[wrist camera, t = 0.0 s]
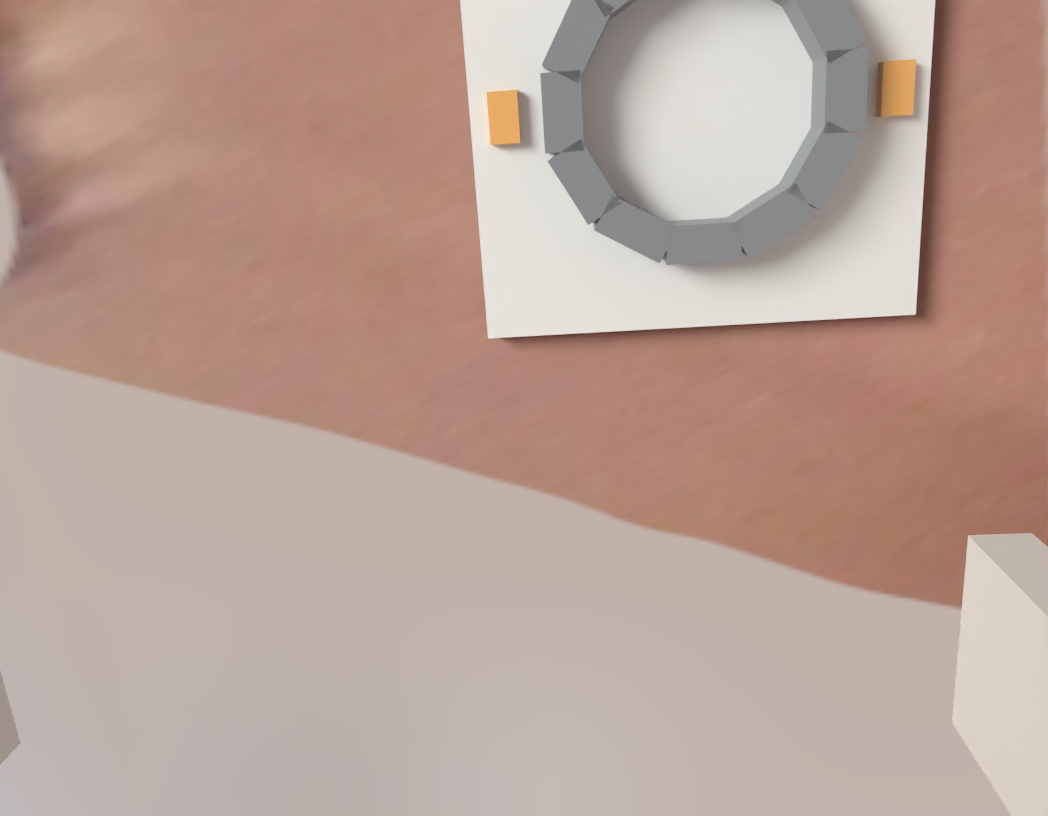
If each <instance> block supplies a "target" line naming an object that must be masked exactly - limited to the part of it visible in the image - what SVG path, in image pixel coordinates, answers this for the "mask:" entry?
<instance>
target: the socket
mask: <svg viewBox="0 0 1048 816" xmlns="http://www.w3.org/2000/svg"><path fill="white" fill-rule="evenodd" d="M460 3H461V15H462V28H463V40H464V52H465V64H466V76H467V88H468V100H469V112H470V124H471V136H472V148H473V160H474V172H475V184H476V196H477V209H478V221H479V233H480V245H481V257H482V269H483V281H484V293H485V305H486V317H487V329H488V338H506V337H523V336H541V335H559V334H577V333H595V332H613V331H631V330H649V329H667V328H685V327H703V326H721V325H739V324H757V323H775V322H793V321H811V320H829V319H847V318H865V317H883V316H901V315H916V303H917V287H918V271H919V255H920V239H921V223H922V207H923V191H924V175H925V159H926V143H927V127H928V111H929V95H930V79H931V63H932V47H933V31H934V15H935V0H460Z"/></svg>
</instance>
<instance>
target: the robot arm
mask: <svg viewBox="0 0 1048 816" xmlns="http://www.w3.org/2000/svg"><path fill="white" fill-rule="evenodd" d="M952 723H953V725H954V726H955V728H956V729H957V731H958V732H959V734H960V736H961V737H962V739H963V740H964V742H965V744H966V745H967V747H968V748H969V750H970V751H971V753H972V754H973V756H974V757H975V759H976V761H977V762H978V764H979V765H980V767H981V769H982V770H983V772H984V773H985V775H986V776H987V778H988V780H989V781H990V782H991V784H992V786H993V787H994V789H995V790H996V792H997V794H998V795H999V797H1000V798H1001V800H1002V801H1003V803H1004V804H1005V806H1006V808H1007V809H1008V811H1009V812H1010V814H1011V815H1012V816H1048V547H1047V546H1046V545H1045V544H1044V543H1043V542H1041V541H1040V540H1039V539H1038V538H1037V537H1036V536H1035V535H1033V534H1032V533H1020V534H993V535H968V544H967V556H966V567H965V579H964V590H963V601H962V613H961V624H960V636H959V648H958V659H957V670H956V683H955V693H954V705H953V717H952ZM19 744H20V740H19V737H18V733H17V729H16V725H15V722H14V719H13V715H12V711H11V708H10V704H9V701H8V697H7V693H6V690H5V686H4V683H3V679H2V675H1V672H0V764H1V763H2V762H3V761H4V760H5V759H6V758H7V757H8V756H9V755H10V753H11V752H12V751H13V750H14V749H15V748H16V747H17V746H18V745H19Z"/></svg>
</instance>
